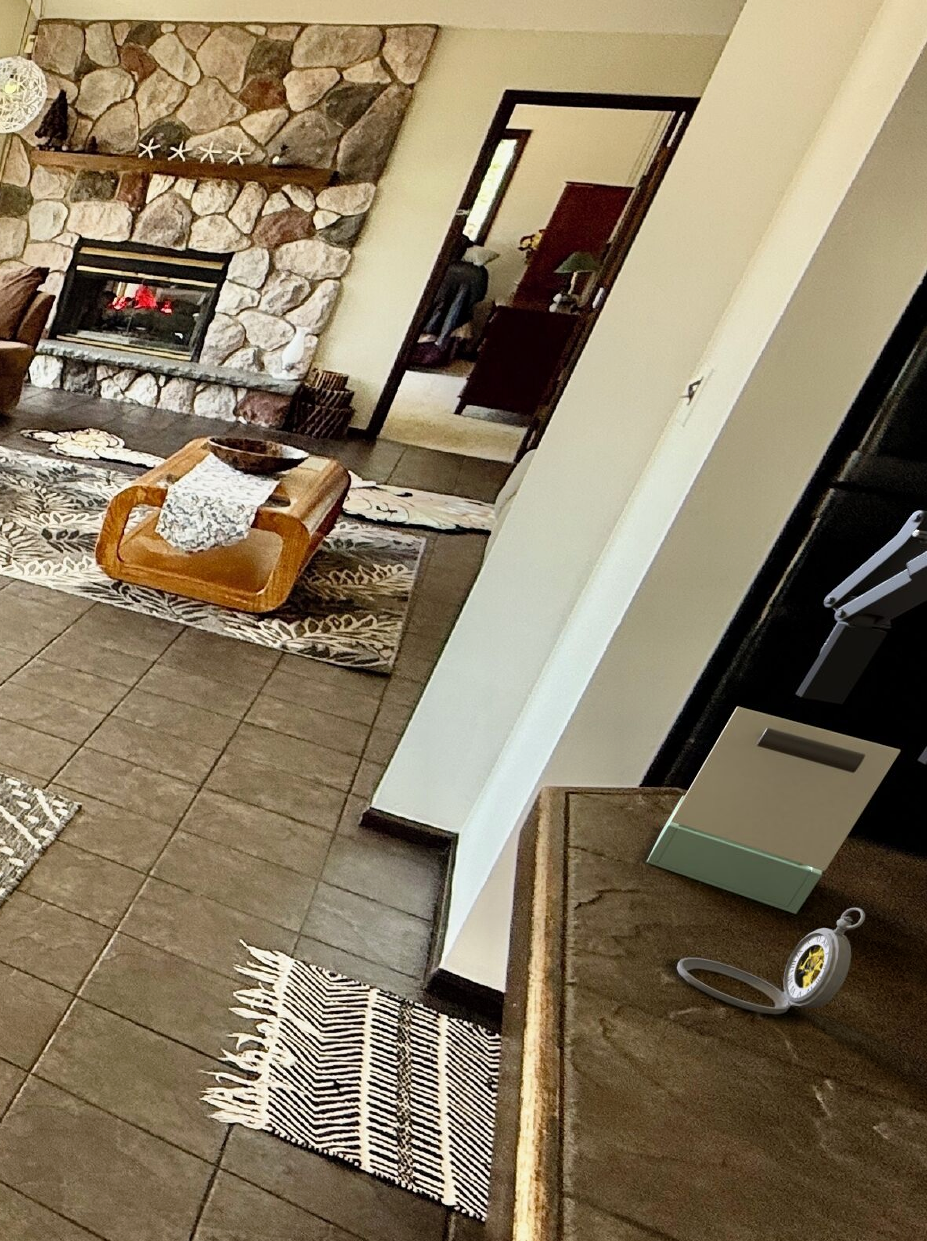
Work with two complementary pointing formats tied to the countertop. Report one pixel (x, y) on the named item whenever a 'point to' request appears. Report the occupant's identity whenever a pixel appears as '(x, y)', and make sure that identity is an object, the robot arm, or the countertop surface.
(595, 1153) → the countertop surface
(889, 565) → the robot arm
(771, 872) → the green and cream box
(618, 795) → the countertop surface
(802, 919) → the countertop surface
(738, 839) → the cream coin bank
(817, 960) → the pocket watch
